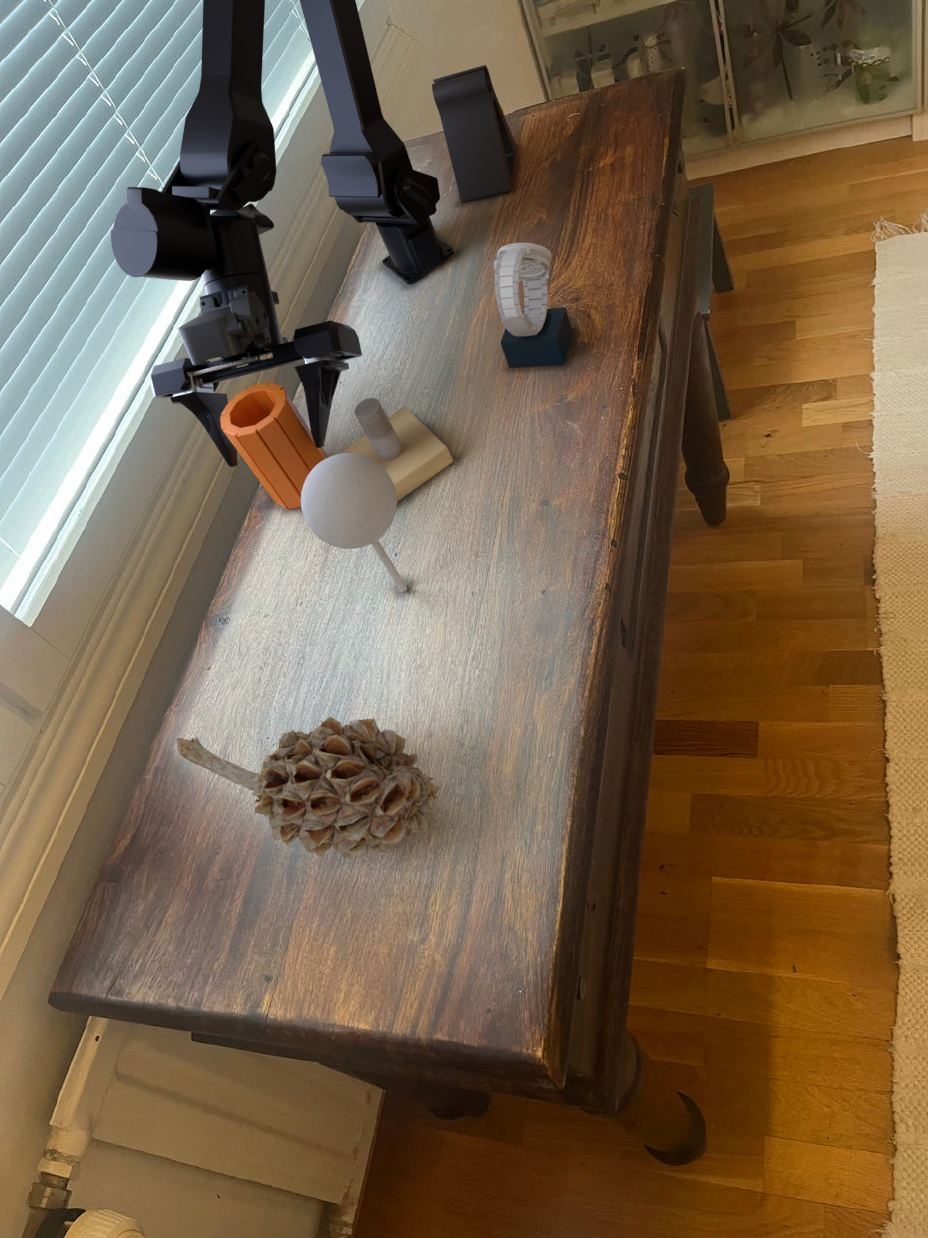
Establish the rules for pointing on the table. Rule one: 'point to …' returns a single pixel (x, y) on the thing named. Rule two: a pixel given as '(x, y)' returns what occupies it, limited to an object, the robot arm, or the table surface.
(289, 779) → the pine cone
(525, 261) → the watch
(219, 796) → the table surface
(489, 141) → the phone stand
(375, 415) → the peg on block
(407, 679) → the table surface
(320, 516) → the lollipop
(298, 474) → the orange fluted tube
